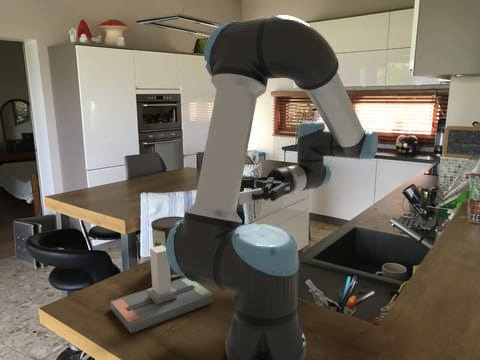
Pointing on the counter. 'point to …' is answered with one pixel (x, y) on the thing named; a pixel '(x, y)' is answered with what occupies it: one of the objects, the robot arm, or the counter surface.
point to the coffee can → (164, 233)
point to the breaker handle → (160, 276)
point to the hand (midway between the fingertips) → (222, 193)
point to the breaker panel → (159, 305)
